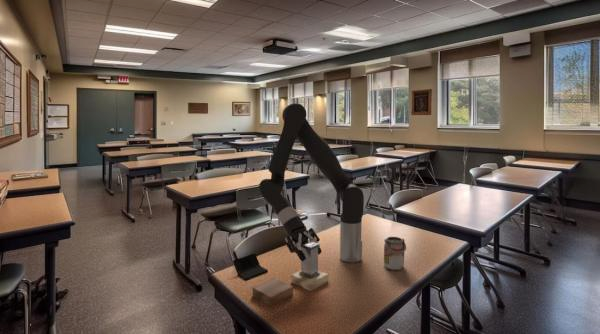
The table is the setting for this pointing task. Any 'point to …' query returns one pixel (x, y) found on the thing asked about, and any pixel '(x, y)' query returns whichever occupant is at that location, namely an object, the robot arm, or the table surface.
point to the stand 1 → (272, 291)
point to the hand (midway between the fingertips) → (312, 256)
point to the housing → (310, 259)
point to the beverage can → (394, 253)
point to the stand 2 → (309, 280)
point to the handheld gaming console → (248, 267)
